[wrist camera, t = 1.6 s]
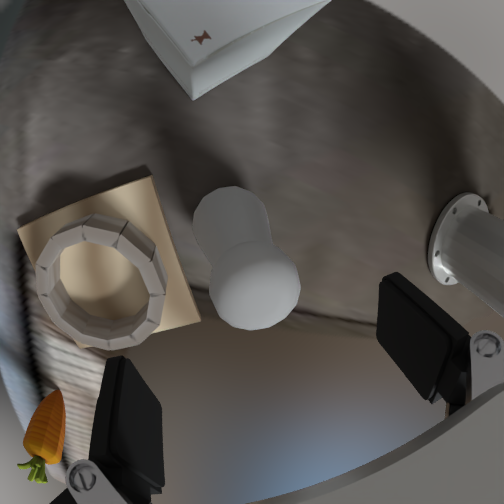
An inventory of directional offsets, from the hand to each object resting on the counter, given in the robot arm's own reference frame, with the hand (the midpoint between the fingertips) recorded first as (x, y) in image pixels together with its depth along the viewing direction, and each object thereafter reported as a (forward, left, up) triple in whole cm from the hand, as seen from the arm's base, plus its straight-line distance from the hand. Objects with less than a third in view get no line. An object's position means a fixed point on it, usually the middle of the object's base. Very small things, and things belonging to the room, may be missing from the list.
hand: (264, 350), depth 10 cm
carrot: (+27, +16, -16) cm, 36 cm away
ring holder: (+11, +2, -16) cm, 20 cm away
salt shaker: (-1, 0, -16) cm, 16 cm away
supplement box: (-2, -14, -17) cm, 22 cm away
